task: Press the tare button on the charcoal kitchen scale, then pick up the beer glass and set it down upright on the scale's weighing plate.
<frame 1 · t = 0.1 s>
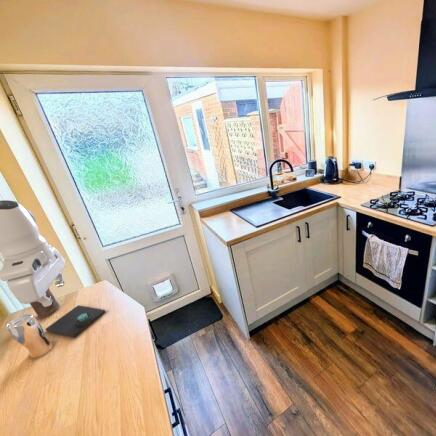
hand: (55, 294, 74), 28 cm above the countertop, tool pointing down, fingers open, 8 cm apart
tare button: (82, 317, 99), point 3 cm above the countertop, slide at 0.1 cm
beer glass: (42, 350, 90), on the countertop
scale: (77, 321, 102), on the countertop
candle: (50, 311, 109), on the countertop
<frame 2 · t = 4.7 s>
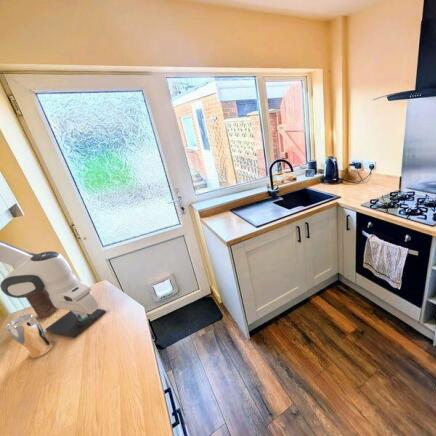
hand: (82, 316, 99), 4 cm above the countertop, tool pointing down, fingers closed, pressing on tare button
tare button: (83, 318, 99), point 3 cm above the countertop, slide at -0.3 cm, touching gripper
everything else where it was.
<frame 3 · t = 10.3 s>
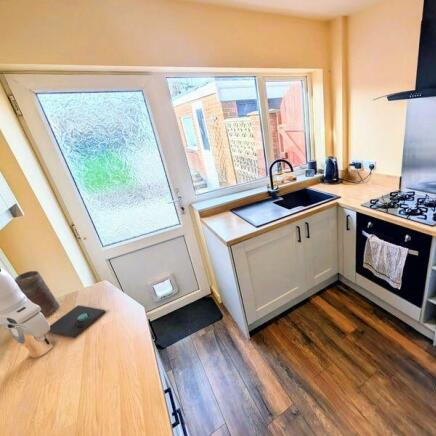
hand: (34, 338, 88), 6 cm above the countertop, tool pointing down, fingers closed on beer glass, 6 cm apart
tare button: (82, 317, 99), point 3 cm above the countertop, slide at 0.1 cm
beer glass: (42, 350, 90), on the countertop, touching gripper
everything else where it was.
when the fingers open (7 cm above the countertop, at t = 17.9 s): beer glass stays where it is, resting on scale.
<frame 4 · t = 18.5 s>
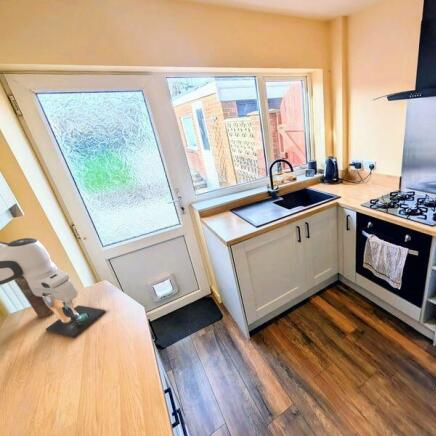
hand: (62, 304, 99), 9 cm above the countertop, tool pointing down, fingers open, 8 cm apart
beer glass: (70, 319, 102), point 1 cm above the countertop, touching scale
everything else where it was.
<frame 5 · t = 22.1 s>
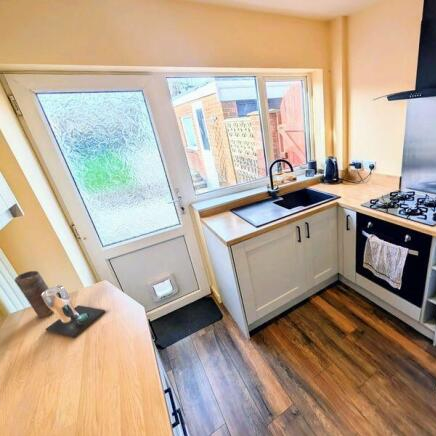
nothing on the countertop moved.
at the end: tare button pushed in 0.8 cm at the most during the clip, back to where it started at the end; beer glass inside the target area on the scale (0.6 cm from its centre), point 1.2 cm above the scale's base; beer glass touching scale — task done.
